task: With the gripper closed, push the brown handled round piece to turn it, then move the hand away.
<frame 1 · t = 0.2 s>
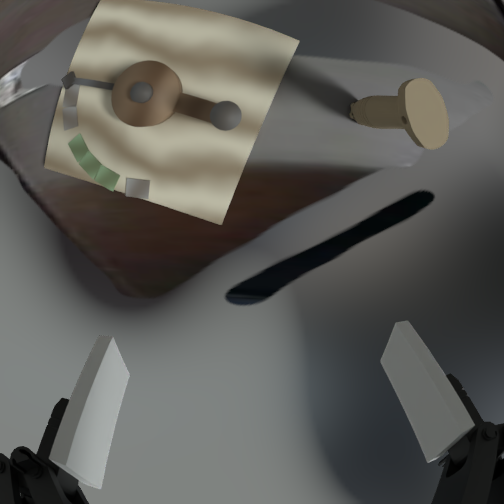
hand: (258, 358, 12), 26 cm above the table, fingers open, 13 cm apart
handle: (358, 112, 31), on the table
brown handled round piece: (130, 89, 23), point 5 cm above the table, hinge at 0.0°
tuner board: (153, 96, 28), on the table
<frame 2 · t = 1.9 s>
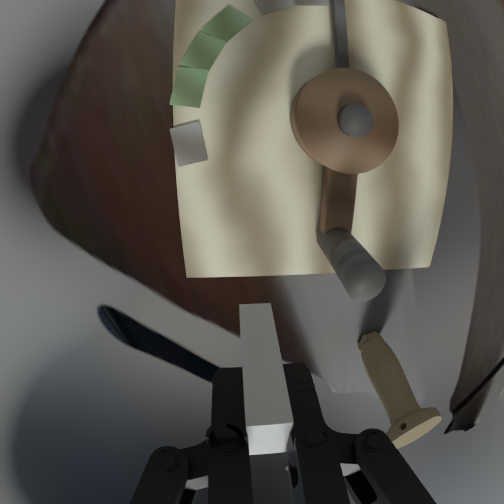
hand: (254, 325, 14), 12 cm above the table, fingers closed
handle: (367, 338, 32), on the table
brown handled round piece: (359, 104, 15), point 6 cm above the table, hinge at 0.0°
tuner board: (332, 120, 21), on the table
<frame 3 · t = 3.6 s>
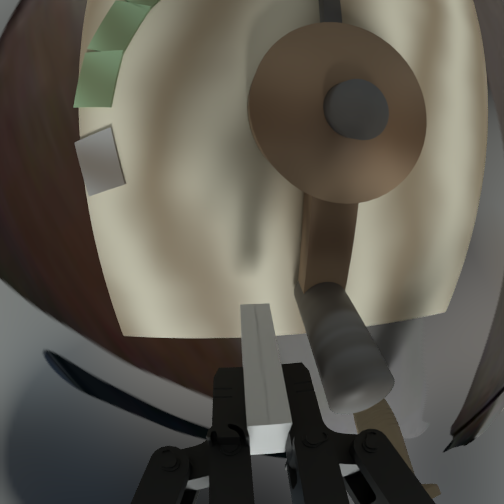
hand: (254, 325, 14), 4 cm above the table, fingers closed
handle: (362, 389, 25), on the table
brown handled round piece: (364, 80, 8), point 5 cm above the table, hinge at 0.3°, touching gripper
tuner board: (319, 112, 13), on the table
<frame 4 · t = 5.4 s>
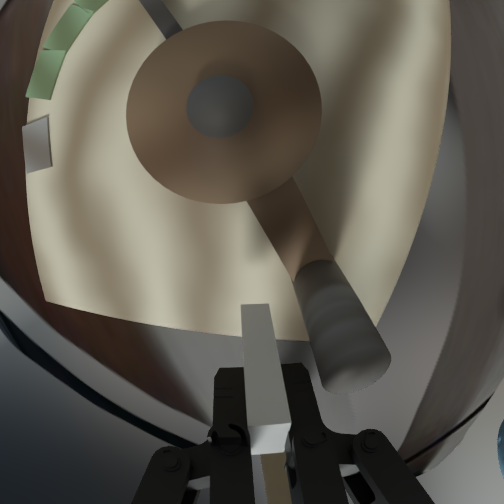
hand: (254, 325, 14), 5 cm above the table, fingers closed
handle: (275, 404, 25), on the table
brown handled round piece: (203, 80, 8), point 5 cm above the table, hinge at 38.5°, touching gripper
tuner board: (226, 113, 13), on the table
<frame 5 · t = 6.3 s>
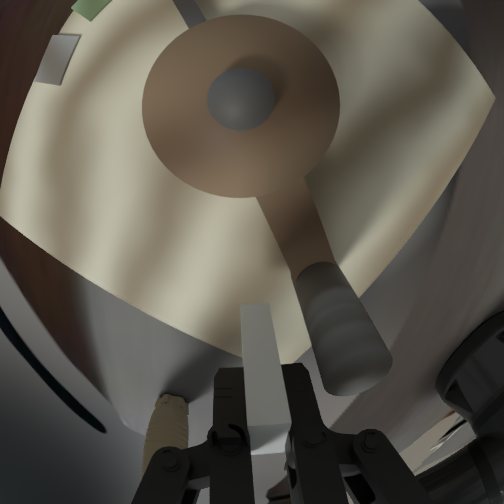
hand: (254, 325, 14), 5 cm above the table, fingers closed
handle: (173, 399, 24), on the table
brown handled round piece: (227, 71, 8), point 6 cm above the table, hinge at 58.8°, touching gripper
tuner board: (240, 108, 13), on the table
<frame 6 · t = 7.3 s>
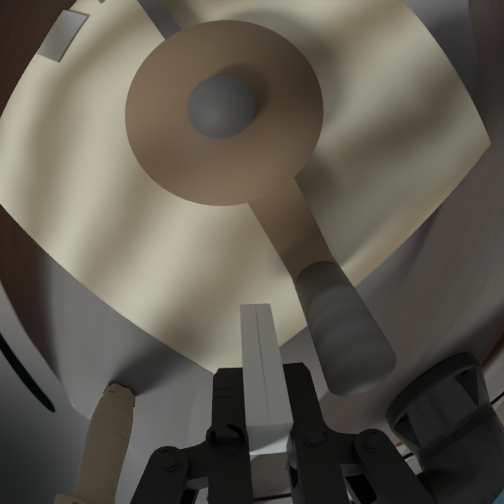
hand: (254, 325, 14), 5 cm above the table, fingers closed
handle: (121, 389, 23), on the table
brown handled round piece: (204, 80, 8), point 5 cm above the table, hinge at 74.1°, touching gripper
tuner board: (225, 114, 13), on the table
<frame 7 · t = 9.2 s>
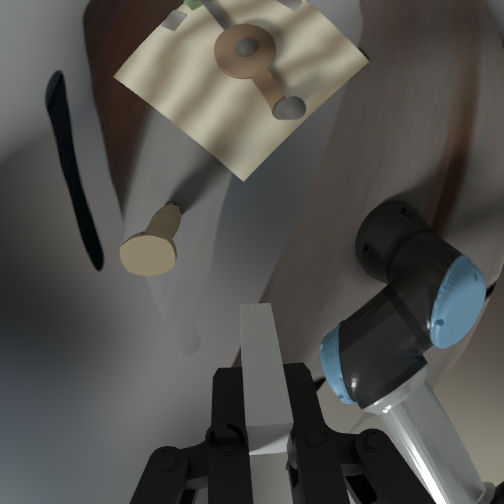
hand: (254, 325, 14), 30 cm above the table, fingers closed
handle: (172, 211, 42), on the table
brown handled round piece: (241, 40, 26), point 5 cm above the table, hinge at 74.2°
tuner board: (243, 56, 32), on the table
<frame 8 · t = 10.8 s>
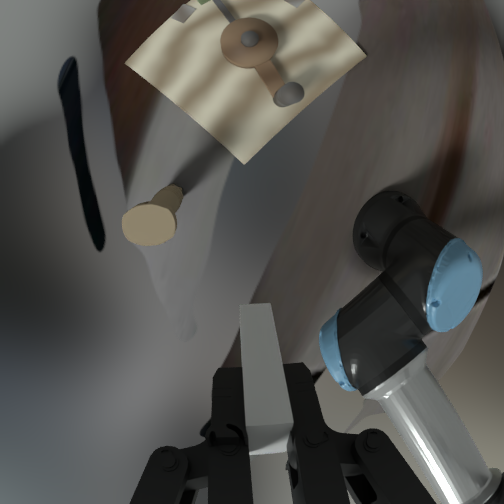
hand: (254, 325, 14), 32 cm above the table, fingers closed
handle: (174, 192, 43), on the table
brown handled round piece: (245, 31, 28), point 5 cm above the table, hinge at 74.2°
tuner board: (247, 48, 33), on the table
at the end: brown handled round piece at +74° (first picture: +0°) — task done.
